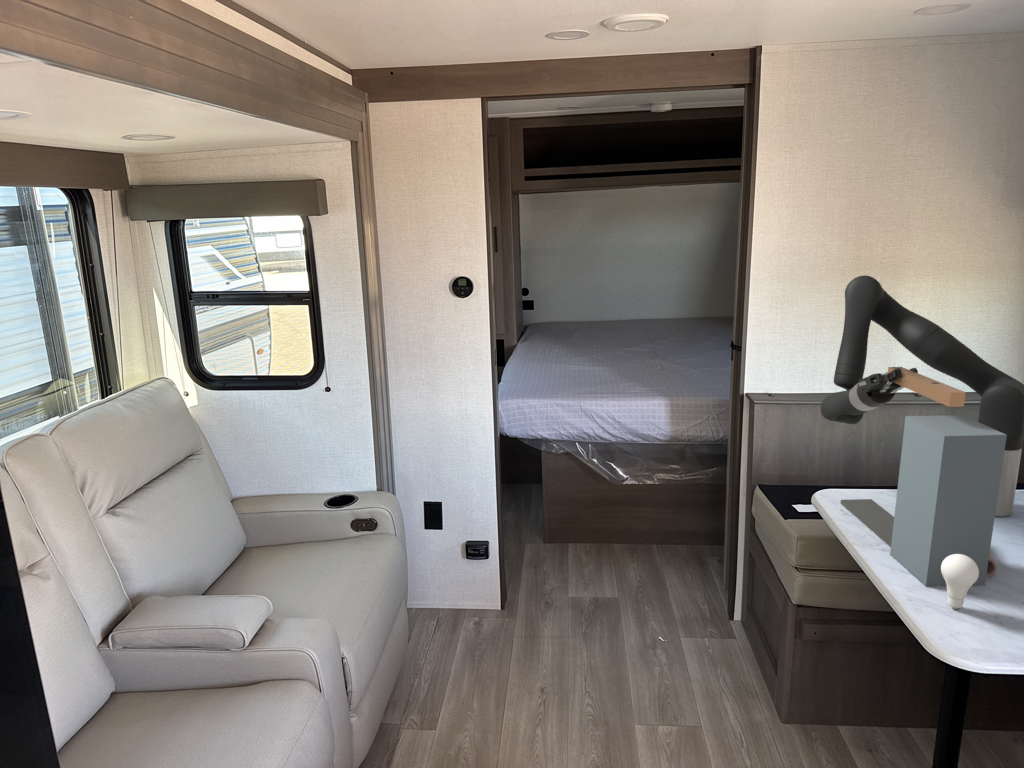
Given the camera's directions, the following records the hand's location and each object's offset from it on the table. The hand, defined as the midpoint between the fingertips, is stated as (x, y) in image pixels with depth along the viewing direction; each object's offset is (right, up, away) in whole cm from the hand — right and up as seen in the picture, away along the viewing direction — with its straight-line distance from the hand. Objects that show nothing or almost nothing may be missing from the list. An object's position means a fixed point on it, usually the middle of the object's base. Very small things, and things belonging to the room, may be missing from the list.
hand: (907, 372), depth 162 cm
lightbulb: (-4, -46, -24) cm, 52 cm away
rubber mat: (+1, -37, +13) cm, 39 cm away
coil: (+12, -41, -5) cm, 43 cm away
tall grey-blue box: (+1, -42, -9) cm, 43 cm away
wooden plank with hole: (0, -4, -6) cm, 7 cm away
